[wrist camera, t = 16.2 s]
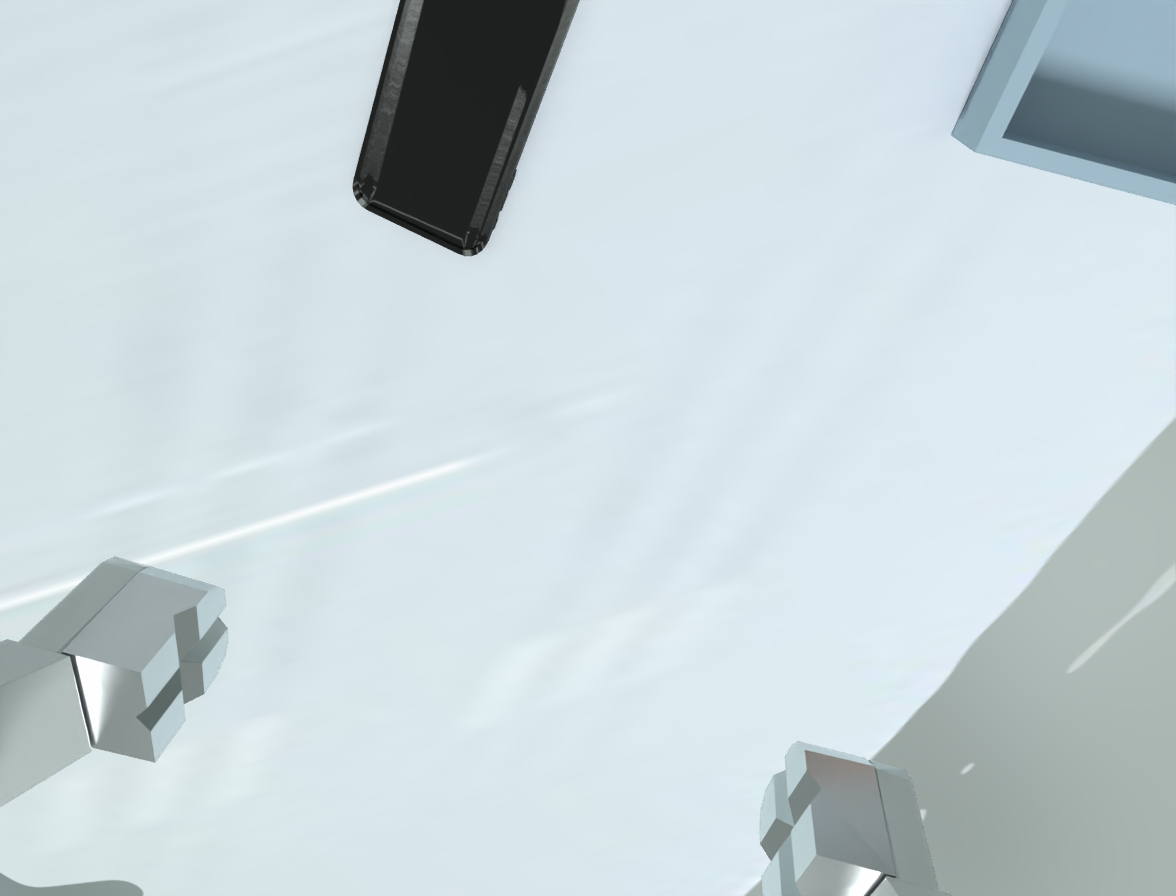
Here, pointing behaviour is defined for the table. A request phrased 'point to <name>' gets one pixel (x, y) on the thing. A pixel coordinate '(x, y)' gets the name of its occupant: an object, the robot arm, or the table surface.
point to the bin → (1082, 93)
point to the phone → (457, 113)
